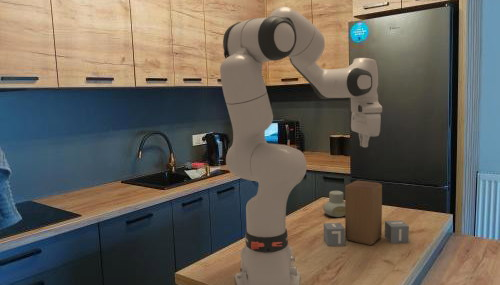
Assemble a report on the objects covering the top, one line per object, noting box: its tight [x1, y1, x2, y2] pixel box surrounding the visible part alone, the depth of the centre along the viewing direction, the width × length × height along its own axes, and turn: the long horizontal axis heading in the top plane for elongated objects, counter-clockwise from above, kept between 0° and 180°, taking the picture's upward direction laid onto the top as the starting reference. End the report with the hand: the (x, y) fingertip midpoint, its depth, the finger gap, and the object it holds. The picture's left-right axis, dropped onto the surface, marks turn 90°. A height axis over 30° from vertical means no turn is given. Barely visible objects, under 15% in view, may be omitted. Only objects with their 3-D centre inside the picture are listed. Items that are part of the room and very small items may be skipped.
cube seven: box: [323, 222, 346, 247], centre depth 134 cm, size 6×6×6 cm
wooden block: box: [344, 179, 383, 246], centre depth 135 cm, size 10×10×20 cm
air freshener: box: [322, 190, 345, 218], centre depth 162 cm, size 11×8×10 cm
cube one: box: [384, 219, 410, 244], centre depth 134 cm, size 6×6×6 cm
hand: (364, 146), depth 132 cm, fingers closed
